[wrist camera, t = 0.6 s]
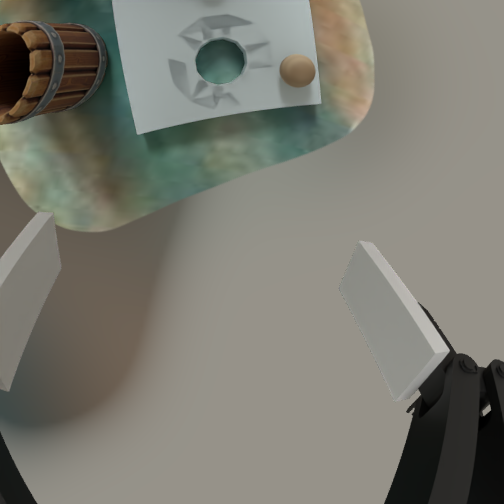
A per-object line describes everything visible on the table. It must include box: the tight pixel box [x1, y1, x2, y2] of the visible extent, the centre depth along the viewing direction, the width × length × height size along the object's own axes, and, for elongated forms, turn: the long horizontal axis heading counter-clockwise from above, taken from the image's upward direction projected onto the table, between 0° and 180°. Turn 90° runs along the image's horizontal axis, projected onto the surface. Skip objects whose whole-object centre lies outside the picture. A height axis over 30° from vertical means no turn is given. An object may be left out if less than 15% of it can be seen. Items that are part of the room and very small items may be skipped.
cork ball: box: [279, 54, 316, 88], centre depth 27 cm, size 4×4×4 cm
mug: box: [0, 21, 108, 125], centre depth 19 cm, size 16×11×15 cm
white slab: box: [112, 0, 321, 135], centre depth 25 cm, size 24×20×2 cm
